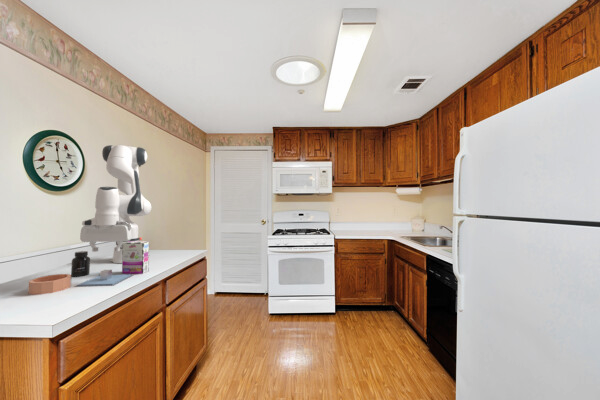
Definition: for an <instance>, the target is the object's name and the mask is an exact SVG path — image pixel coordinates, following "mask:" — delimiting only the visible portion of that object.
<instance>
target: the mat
mask: <svg viewBox="0 0 600 400" xmlns="http://www.w3.org/2000/svg"><path fill="white" fill-rule="evenodd" d="M134 276H135V274H131V276H129V277H127V278H125V279H123V280H121V281H120V282H118V283H116V284H114V285H97V286H96V287H114V286H116V285H117V284H120V283H122V282H123V281H125V280H127V279H130V278H131V277H134ZM82 287H83V288H85V287H88V288H89V287H92V286H78V284H76V285H74V286H73V288H82Z"/></svg>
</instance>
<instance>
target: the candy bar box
mask: <svg viewBox="0 0 600 400" xmlns="http://www.w3.org/2000/svg"><path fill="white" fill-rule="evenodd" d="M149 255H150V241H149V240H148V241H146V240H145V241H142V240H140V241H128V242H123V252H122V263H121V264H122V265H121V268H122V269H121V273H122V274H121V275H129V274H131V275H143V274H146V273H148V272H150V271H149V269H150V268H149V265H150V261H149V260H150V256H149Z"/></svg>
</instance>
